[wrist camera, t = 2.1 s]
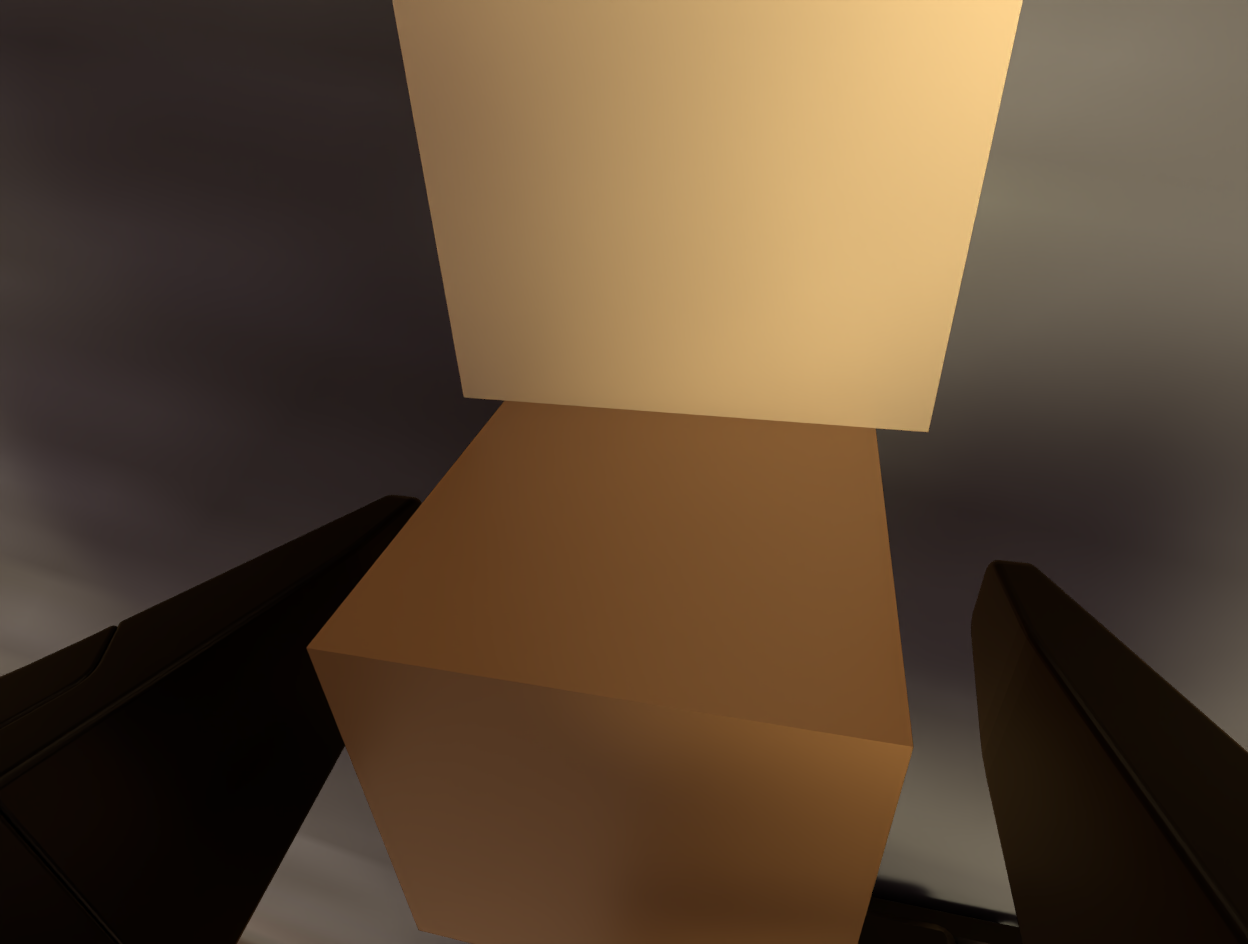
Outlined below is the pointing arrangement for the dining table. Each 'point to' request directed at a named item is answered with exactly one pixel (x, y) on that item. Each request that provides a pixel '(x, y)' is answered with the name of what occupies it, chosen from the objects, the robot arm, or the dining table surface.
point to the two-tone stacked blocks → (666, 460)
